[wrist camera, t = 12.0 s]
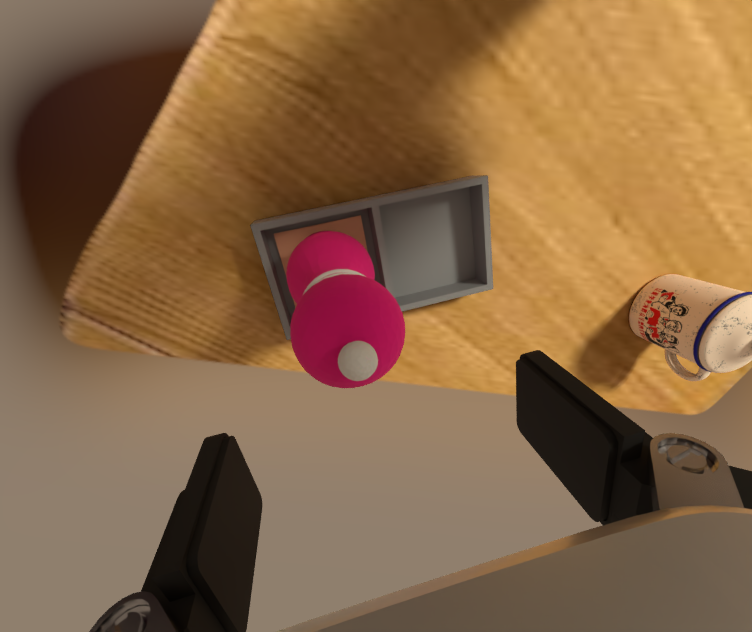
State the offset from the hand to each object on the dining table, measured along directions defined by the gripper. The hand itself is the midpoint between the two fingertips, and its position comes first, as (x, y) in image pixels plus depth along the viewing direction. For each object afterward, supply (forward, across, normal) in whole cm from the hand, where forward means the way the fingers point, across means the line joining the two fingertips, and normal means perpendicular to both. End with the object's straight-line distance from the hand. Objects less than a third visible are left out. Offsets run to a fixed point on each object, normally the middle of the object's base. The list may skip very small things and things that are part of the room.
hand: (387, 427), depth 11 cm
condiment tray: (+25, -4, +1) cm, 25 cm away
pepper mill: (+24, +1, 0) cm, 24 cm away
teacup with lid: (+25, -38, +17) cm, 49 cm away
